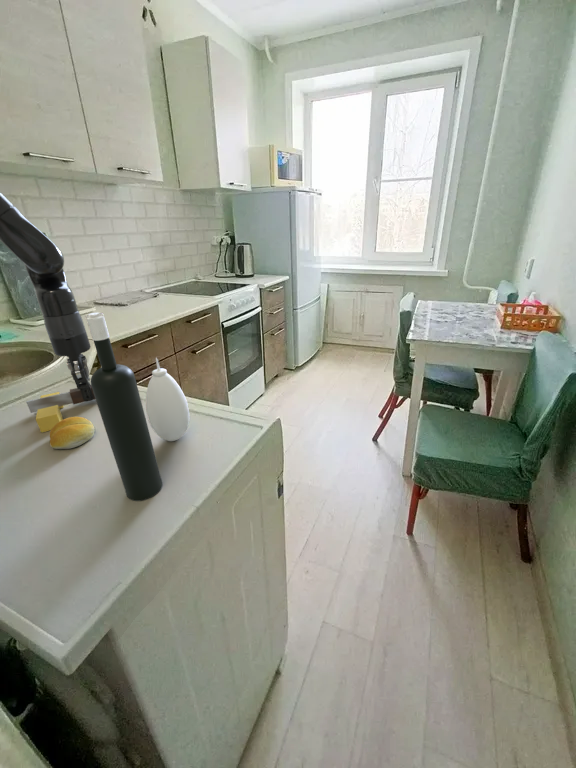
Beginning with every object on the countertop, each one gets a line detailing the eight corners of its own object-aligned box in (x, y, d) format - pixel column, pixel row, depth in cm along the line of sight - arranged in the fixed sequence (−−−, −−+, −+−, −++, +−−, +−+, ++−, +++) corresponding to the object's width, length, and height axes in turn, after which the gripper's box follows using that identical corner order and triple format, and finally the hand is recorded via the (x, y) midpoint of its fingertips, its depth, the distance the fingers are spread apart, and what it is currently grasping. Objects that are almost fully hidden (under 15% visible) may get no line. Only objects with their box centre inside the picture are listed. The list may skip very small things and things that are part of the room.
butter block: (62, 427, 79) (56, 414, 77) (41, 432, 77) (35, 419, 76) (62, 417, 83) (57, 404, 81) (42, 422, 81) (37, 409, 80)
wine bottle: (128, 506, 56) (68, 322, 43) (124, 484, 61) (69, 312, 48) (165, 492, 58) (119, 314, 45) (159, 472, 63) (115, 306, 50)
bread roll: (52, 456, 69) (45, 439, 67) (51, 435, 76) (45, 419, 74) (98, 441, 73) (92, 425, 71) (94, 423, 80) (88, 407, 78)
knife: (104, 393, 91) (100, 382, 90) (104, 397, 90) (101, 385, 88) (31, 410, 85) (26, 398, 83) (30, 414, 83) (25, 402, 82)
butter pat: (63, 407, 87) (58, 395, 86) (44, 412, 86) (39, 399, 84) (63, 403, 89) (59, 391, 88) (45, 408, 88) (40, 395, 86)
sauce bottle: (181, 424, 78) (165, 346, 70) (200, 437, 73) (185, 355, 65) (147, 439, 73) (126, 358, 65) (165, 454, 68) (144, 369, 60)
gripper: (50, 328, 85) (72, 391, 93) (46, 343, 74) (71, 414, 82) (84, 322, 89) (103, 384, 96) (86, 336, 77) (107, 405, 85)
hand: (88, 398), depth 89 cm, fingers closed on knife, 2 cm apart
